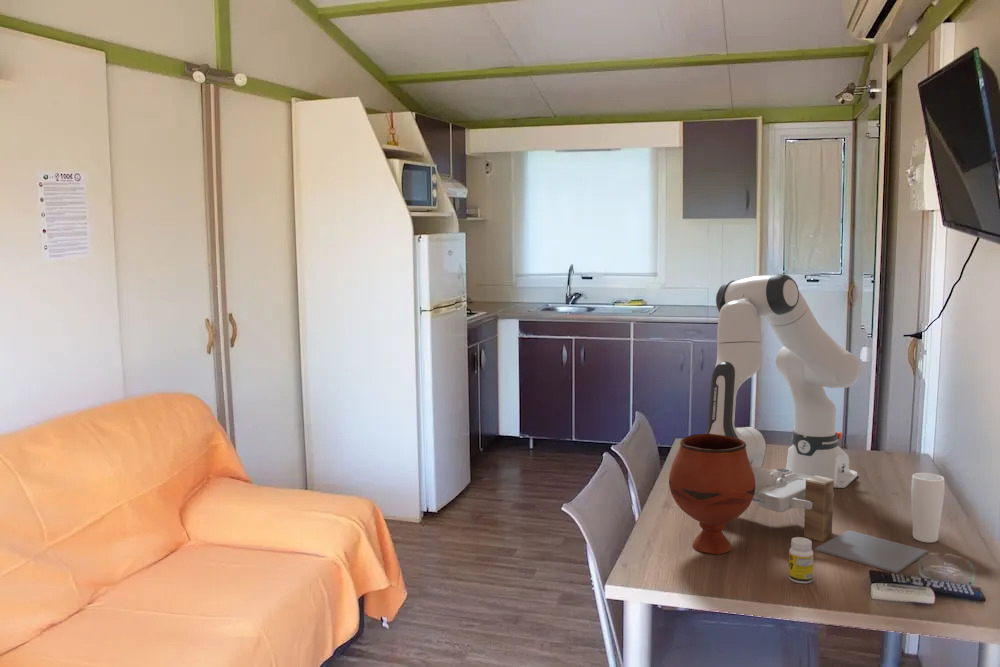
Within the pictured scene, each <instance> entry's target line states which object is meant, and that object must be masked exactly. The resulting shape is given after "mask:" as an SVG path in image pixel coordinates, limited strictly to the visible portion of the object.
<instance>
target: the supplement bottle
mask: <svg viewBox="0 0 1000 667" xmlns="http://www.w3.org/2000/svg"><path fill="white" fill-rule="evenodd" d="M812 545H813V544H812V539H810V538H806V537H804V536H803V537H801V536H800V537H799V536H796V537H792V538H791V543H790V546H791V547H790V548H789V551H788V554H789V555H788V578H789V580H790V581H792V582H794V583H796V584H797V583H798V584H810V583H812V582H813V581H814V580H813V577H814V551H813V549H812V547H813V546H812Z"/></svg>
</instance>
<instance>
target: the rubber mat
mask: <svg viewBox="0 0 1000 667" xmlns="http://www.w3.org/2000/svg"><path fill="white" fill-rule="evenodd" d="M815 551H818V552H821V553H824V554H827V555H831V556H835V557H839V558H842V559H845V560H849V561H852V562H856V563H860V564H863V565H866V566H870V567H873V568H877V569H881V570H883V571H886V572H891V573H895V574H897V573H899V572H901V571H902V570H904V569H905V568H907V567H908V566H910V565H912V563H914V562H916V561H917V560H919V559H920V558H922V557H924V556H925V555H926V554H928V550H927V549H923V548H919V547H915V546H911V545H907V544H903V543H899V542H895V541H892V540H888V539H884V538H879V537H876V536H873V535H869V534H865V533H861V532H857V531H855V530H850V529H848V530H846V531H844V532H842V533H840V534H839V535H837V536H835V537H833V538H831V539H828V540H826V542H825V541H824V542H823V543H822V544H820V545H818V546H816V547H815ZM921 556H922V557H921Z"/></svg>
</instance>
